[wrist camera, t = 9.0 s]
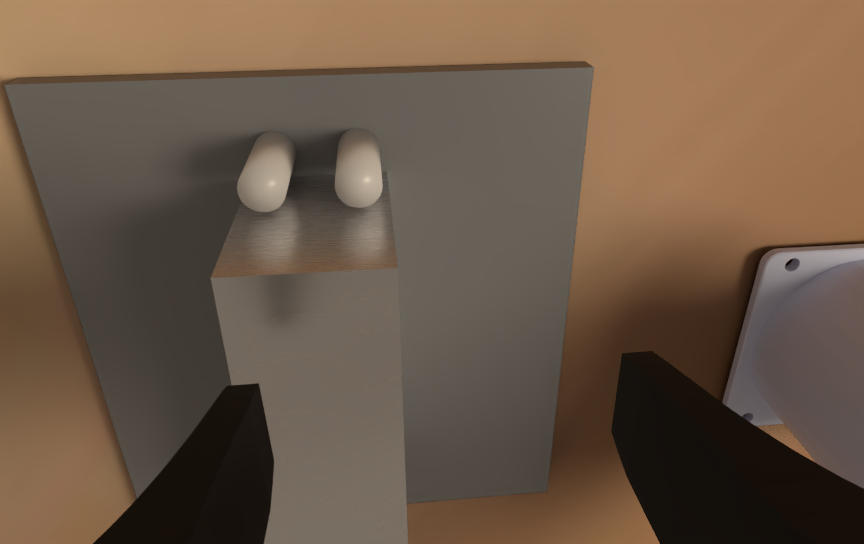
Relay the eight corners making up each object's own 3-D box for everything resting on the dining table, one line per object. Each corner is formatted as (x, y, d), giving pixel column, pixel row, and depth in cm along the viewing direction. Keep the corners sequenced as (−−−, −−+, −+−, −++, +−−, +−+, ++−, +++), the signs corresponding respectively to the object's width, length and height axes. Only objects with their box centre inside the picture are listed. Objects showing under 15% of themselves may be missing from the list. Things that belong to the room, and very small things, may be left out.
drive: (387, 171, 20) (397, 267, 14) (397, 426, 24) (408, 567, 19) (250, 177, 19) (210, 277, 14) (289, 434, 24) (270, 580, 19)
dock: (585, 61, 19) (632, 93, 16) (542, 476, 28) (567, 554, 24) (17, 77, 18) (-59, 115, 15) (151, 509, 26) (121, 595, 23)
